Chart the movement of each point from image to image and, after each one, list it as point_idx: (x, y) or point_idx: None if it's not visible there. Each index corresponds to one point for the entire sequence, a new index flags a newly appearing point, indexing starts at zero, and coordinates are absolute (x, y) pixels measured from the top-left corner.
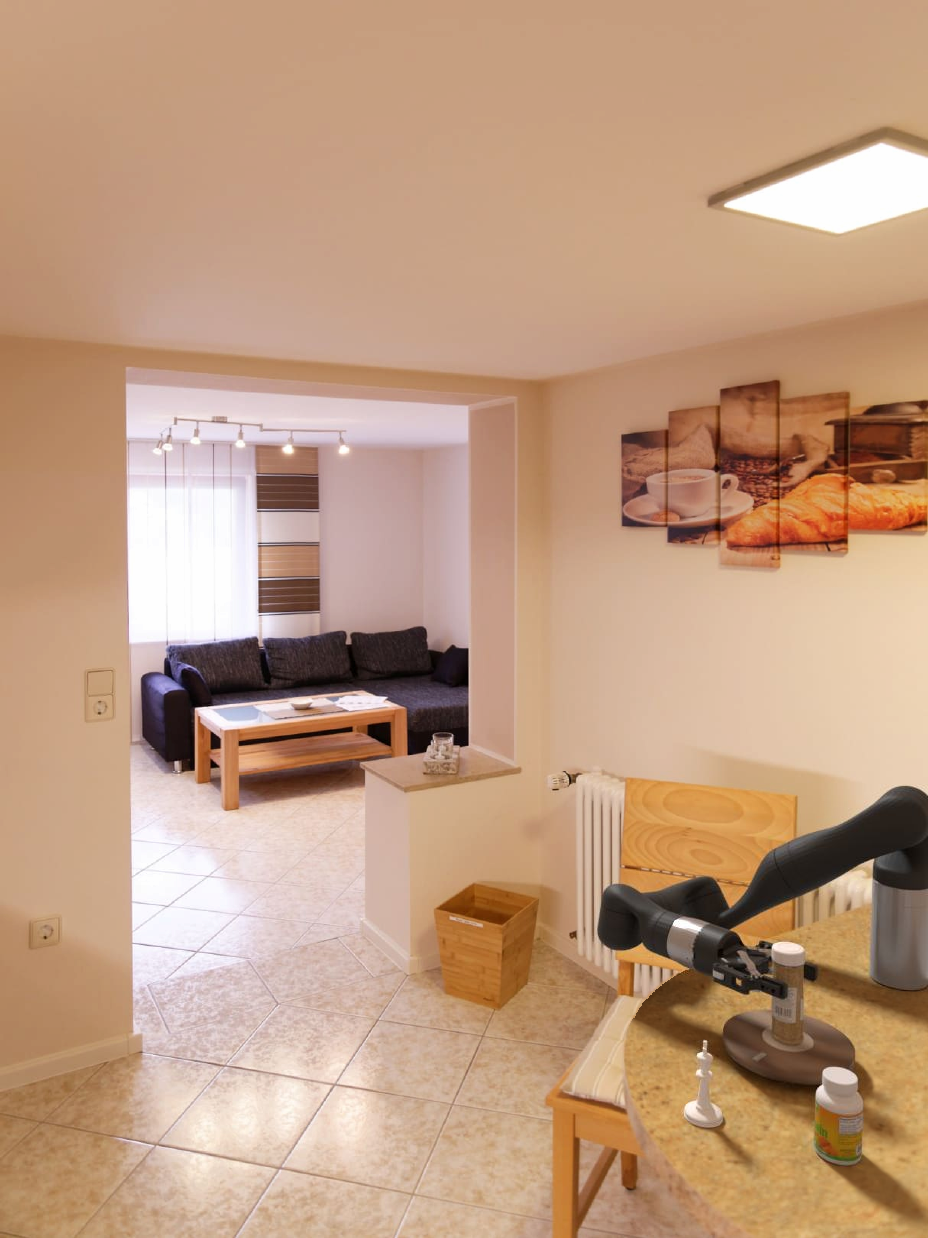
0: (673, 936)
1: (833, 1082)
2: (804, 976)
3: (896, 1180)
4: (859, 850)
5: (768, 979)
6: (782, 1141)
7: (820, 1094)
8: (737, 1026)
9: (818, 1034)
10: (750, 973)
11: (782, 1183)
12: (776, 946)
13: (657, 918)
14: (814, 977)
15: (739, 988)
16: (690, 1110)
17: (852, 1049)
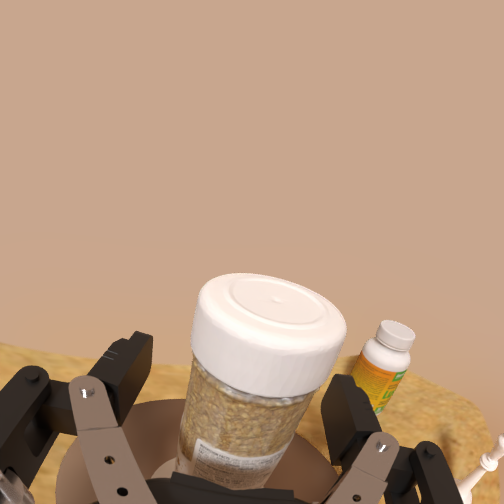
0: None
1: (412, 331)
2: (139, 387)
3: (345, 367)
4: None
5: (365, 411)
6: (397, 437)
7: (409, 358)
8: None
9: (138, 451)
10: (392, 463)
11: (432, 411)
12: (314, 328)
13: None
14: (149, 360)
15: (412, 494)
16: (470, 495)
17: (163, 402)
